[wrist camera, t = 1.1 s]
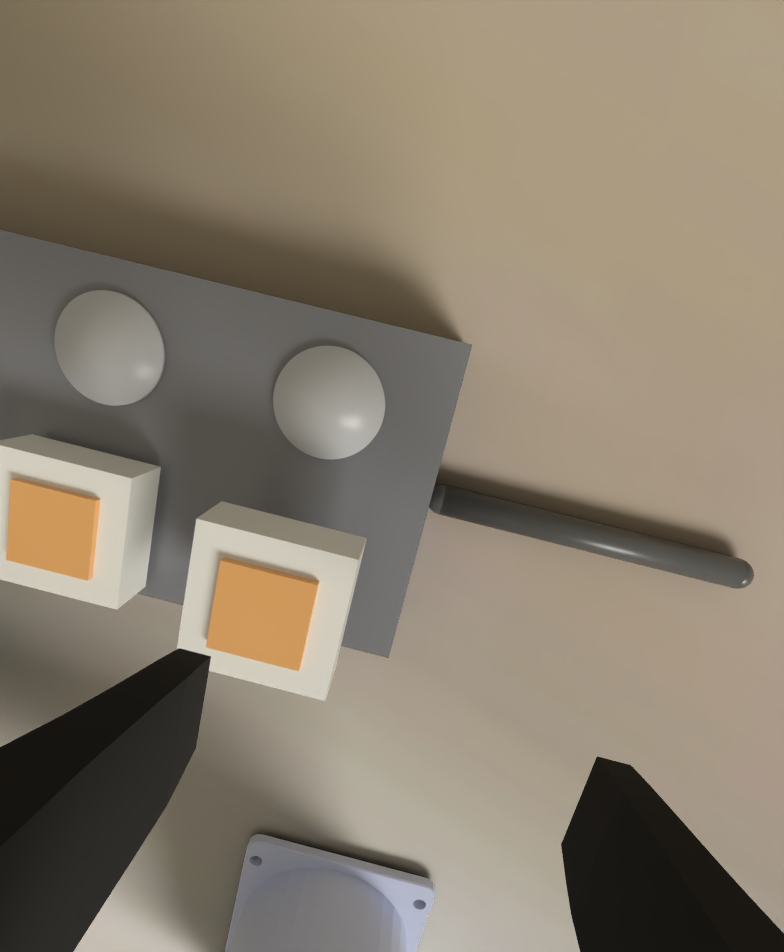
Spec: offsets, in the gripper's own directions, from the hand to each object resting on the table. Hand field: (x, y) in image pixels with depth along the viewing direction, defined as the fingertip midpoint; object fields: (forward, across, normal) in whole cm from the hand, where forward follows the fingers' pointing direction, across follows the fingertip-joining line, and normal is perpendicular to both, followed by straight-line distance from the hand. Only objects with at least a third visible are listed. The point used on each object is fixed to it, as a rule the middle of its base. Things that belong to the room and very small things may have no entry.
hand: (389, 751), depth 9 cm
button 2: (+6, +10, 0) cm, 12 cm away
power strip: (+9, +4, -2) cm, 11 cm away
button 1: (+5, +4, 0) cm, 6 cm away
